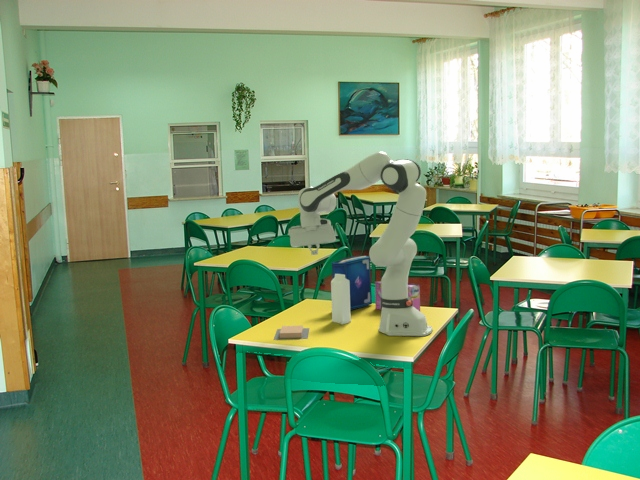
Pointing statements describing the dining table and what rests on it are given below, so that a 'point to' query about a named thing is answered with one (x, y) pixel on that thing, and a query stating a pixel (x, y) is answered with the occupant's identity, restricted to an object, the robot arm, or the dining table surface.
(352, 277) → the book
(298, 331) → the tile
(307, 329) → the mat
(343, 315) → the milk
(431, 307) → the dining table surface
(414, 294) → the gum box
